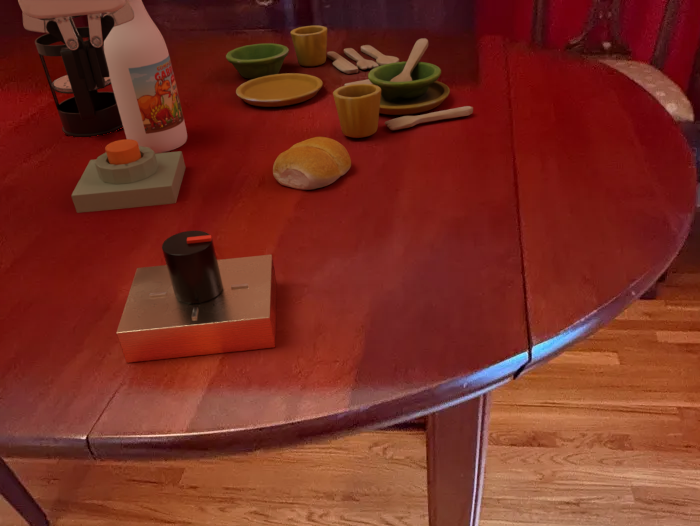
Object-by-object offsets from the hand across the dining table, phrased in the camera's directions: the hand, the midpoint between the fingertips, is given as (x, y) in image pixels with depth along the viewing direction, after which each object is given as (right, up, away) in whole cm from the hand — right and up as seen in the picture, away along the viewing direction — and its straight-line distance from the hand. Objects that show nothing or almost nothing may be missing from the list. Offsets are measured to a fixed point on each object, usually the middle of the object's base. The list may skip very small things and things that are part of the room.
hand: (97, 85), depth 77 cm
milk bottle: (+1, -1, +19) cm, 19 cm away
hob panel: (+15, -26, -15) cm, 33 cm away
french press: (-9, +4, +26) cm, 27 cm away
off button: (+1, -6, +5) cm, 8 cm away
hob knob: (+15, -24, -17) cm, 32 cm away
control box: (+1, -9, +8) cm, 12 cm away
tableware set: (+24, +11, +30) cm, 40 cm away
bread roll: (+22, -8, +8) cm, 25 cm away
